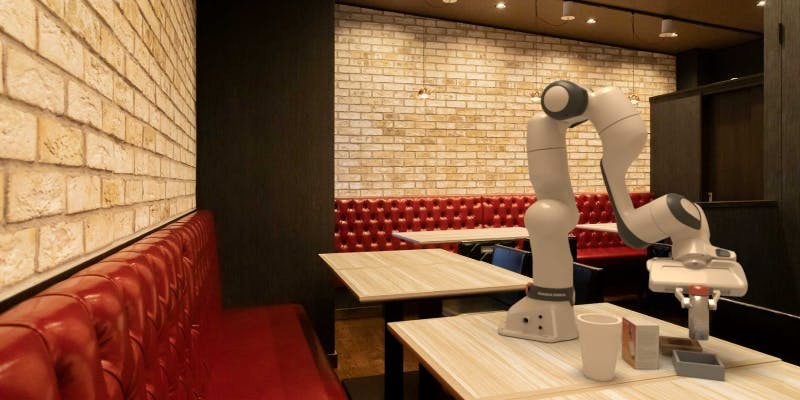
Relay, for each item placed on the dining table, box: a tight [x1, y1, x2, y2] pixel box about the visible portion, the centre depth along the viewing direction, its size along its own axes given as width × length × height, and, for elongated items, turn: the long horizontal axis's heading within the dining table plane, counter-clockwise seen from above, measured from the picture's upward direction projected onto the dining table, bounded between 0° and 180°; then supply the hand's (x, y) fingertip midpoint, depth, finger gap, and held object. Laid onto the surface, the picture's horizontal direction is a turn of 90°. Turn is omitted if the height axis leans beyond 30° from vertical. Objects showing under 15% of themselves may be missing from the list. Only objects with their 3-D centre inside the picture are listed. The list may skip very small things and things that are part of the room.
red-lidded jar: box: [688, 284, 710, 341], centre depth 119 cm, size 4×4×12 cm
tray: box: [671, 350, 726, 382], centre depth 120 cm, size 9×9×3 cm
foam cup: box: [576, 312, 622, 382], centre depth 117 cm, size 10×9×13 cm
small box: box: [621, 316, 660, 370], centre depth 125 cm, size 8×6×10 cm
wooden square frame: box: [659, 335, 704, 357], centre depth 133 cm, size 9×9×2 cm
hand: (699, 307), depth 119 cm, fingers closed on red-lidded jar, 4 cm apart
